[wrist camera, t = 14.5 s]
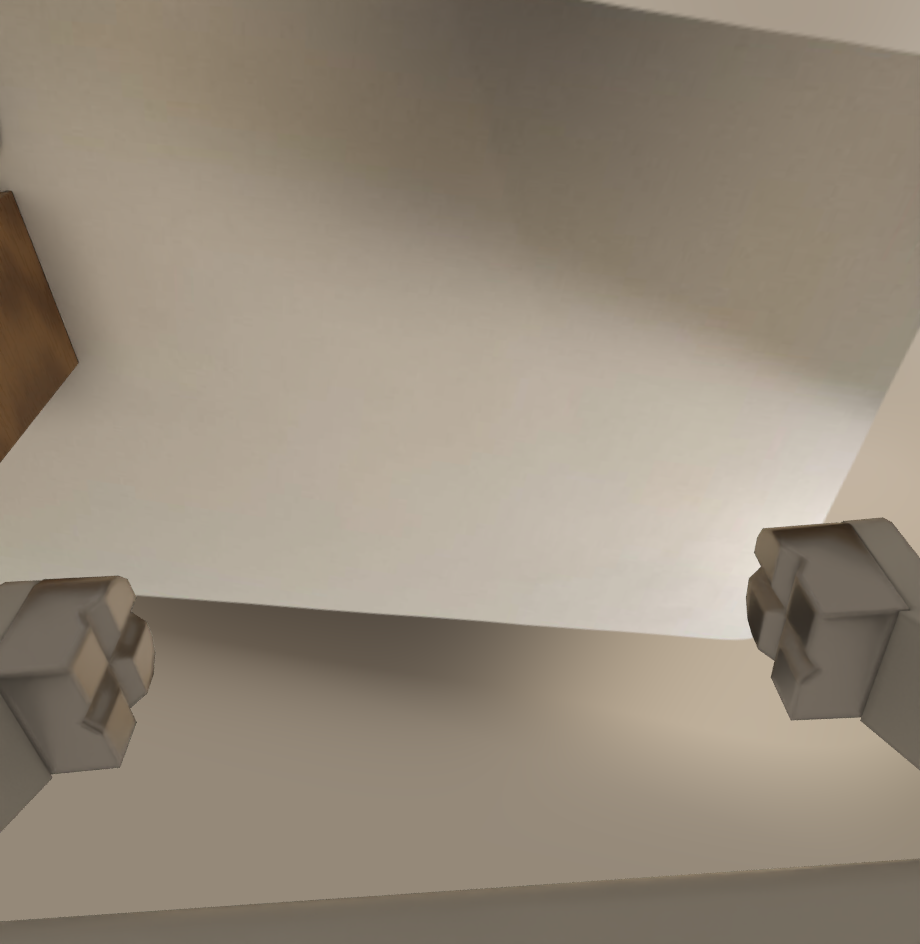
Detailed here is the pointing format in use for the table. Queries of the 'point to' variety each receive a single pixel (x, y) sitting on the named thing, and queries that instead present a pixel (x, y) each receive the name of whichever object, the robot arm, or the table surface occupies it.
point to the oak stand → (26, 331)
